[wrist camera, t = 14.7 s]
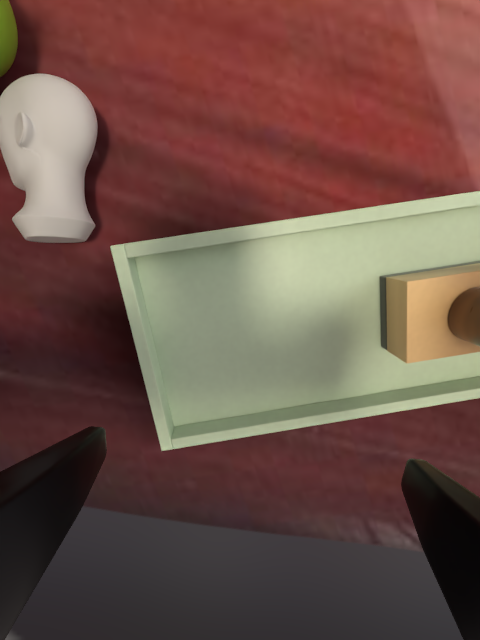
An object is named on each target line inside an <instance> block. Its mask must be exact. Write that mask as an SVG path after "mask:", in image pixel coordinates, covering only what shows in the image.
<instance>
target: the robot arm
mask: <svg viewBox="0 0 480 640" xmlns="http://www.w3.org/2000/svg"><path fill="white" fill-rule="evenodd" d="M106 451H107V449H106V433H105V429H104V428H102V427H94V426H91V427H88V428H86V429H84V430H82V431H80V432H78V433H76V434H74V435H72V436H70V437H68V438H66V439H64V440H62V441H60V442H58V443H56V444H54V445H52V446H50V447H48V448H46V449H44V450H43V451H41V452H39V453H37V454H35V455H33V456H31V457H29V458H27V459H25V460H23V461H21V462H19V463H17V464H15V465H13V466H11V467H9V468H7V469H5V470H3V471H1V472H0V640H5V638H6V636H7V635H8V633H9V631H10V629H11V628H12V626H13V624H14V623H15V621H16V619H17V617H18V616H19V614H20V613H21V611H22V609H23V607H24V606H25V604H26V602H27V601H28V599H29V597H30V596H31V594H32V592H33V590H34V589H35V587H36V585H37V583H38V582H39V580H40V578H41V577H42V575H43V573H44V572H45V570H46V568H47V567H48V565H49V563H50V561H51V560H52V558H53V556H54V555H55V553H56V551H57V550H58V548H59V546H60V545H61V543H62V541H63V539H64V538H65V536H66V534H67V533H68V531H69V529H70V528H71V526H72V524H73V522H74V521H75V519H76V517H77V515H78V513H79V512H80V510H81V508H82V506H83V504H84V502H85V500H86V498H87V496H88V494H89V491H90V489H91V487H92V485H93V483H94V481H95V479H96V476H97V474H98V472H99V470H100V468H101V466H102V464H103V461H104V459H105V456H106ZM401 486H402V491H403V494H404V497H405V500H406V503H407V505H408V508H409V511H410V514H411V517H412V520H413V523H414V526H415V528H416V531H417V534H418V537H419V540H420V542H421V545H422V548H423V550H424V552H425V555H426V557H427V559H428V562H429V564H430V566H431V568H432V570H433V573H434V575H435V577H436V579H437V582H438V584H439V586H440V588H441V590H442V593H443V594H444V597H445V599H446V602H447V604H448V606H449V608H450V610H451V612H452V615H453V617H454V619H455V621H456V624H457V626H458V628H459V630H460V633H461V635H462V637H463V639H464V640H480V498H479V497H478V496H476V495H475V494H473V493H472V492H471V491H469V490H468V489H466V488H465V487H463V486H462V485H460V484H459V483H457V482H456V481H454V480H453V479H451V478H450V477H448V476H447V475H446V474H444V473H443V472H441V471H440V470H438V469H437V468H435V467H434V466H432V465H431V464H429V463H428V462H426V461H425V460H420V459H409V460H408V461H407V463H406V467H405V470H404V474H403V477H402V482H401Z"/></svg>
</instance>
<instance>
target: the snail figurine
mask: <svg viewBox="0 0 480 640" xmlns="http://www.w3.org/2000/svg"><path fill="white" fill-rule="evenodd" d="M17 46H18V34H17V26H16V21H15V17H14V13H13V10H12V7H11V5H10V2H9V0H0V77H1V76H3V75H4V74H5V73H6V72H7V71H8V70H9V69H10V67H11V65H12V64H13V62H14V59H15V56H16V52H17Z"/></svg>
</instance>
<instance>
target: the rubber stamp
mask: <svg viewBox="0 0 480 640" xmlns="http://www.w3.org/2000/svg"><path fill="white" fill-rule="evenodd" d="M380 312H381V347H382V348H384V349H386V350H387V351H388V352H390V353H391V354H393V355H394V356H396V357H397V358H399V359H400V360H402V361H404V362H405V363H407V364H408V363H414V362H420V361H426V360H432V359H439V358H445V357H451V356H457V355H463V354H469V353H476V352H480V261H474V262H468V263H461V264H455V265H448V266H442V267H435V268H429V269H422V270H416V271H409V272H403V273H396V274H390V275H383V276H380Z"/></svg>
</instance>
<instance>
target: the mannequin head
mask: <svg viewBox="0 0 480 640" xmlns="http://www.w3.org/2000/svg"><path fill="white" fill-rule="evenodd" d="M97 128H98V127H97V118H96V114H95V111H94V109H93V106H92V105H91V103H90V101H89V100H88V98H87V97H86V96H85V94H84V93H83V92H82V91H81V90H80V89H79V88H77V87H76V86H75V85H74V84H72V83H70V82H69V81H67V80H65V79H62V78H60V77H57V76H53V75H49V74H31V75H27V76H24V77H21V78H19V79H17V80H15V81H14V82H12V83H11V84H10V85H9V86H8V87H7V88H6V89H5V90H4V91H3V93H2V94H1V96H0V148H1V151H2V155H3V158H4V160H5V163H6V166H7V168H8V171H9V174H10V177H11V180H12V182H13V184H14V185H15V186H16V187H18V188H19V189H21V190H24V191H26V200H25V204H24V206H23V208H22V209H21V210H20V211H19V212H18V213H17V214H16V215H15V216H14V217H13V218H12V220H13V222H14V224H15V225H16V227H17V228H18V229H19V231H20V232H21V234H22V235H23V237H24V238H25V239H26V240H28V241H34V242H46V243H75V242H85V241H86V240H87V239H88V237H89V235H90V234H91V232H92V231H93V229H94V228H95V226H96V225H95V224H94V222H93V220H92V219H91V217H90V215H89V213H88V210H87V206H86V202H85V192H84V178H85V171H86V168H87V166H88V164H89V161H90V159H91V157H92V154H93V151H94V147H95V143H96V139H97Z"/></svg>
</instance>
